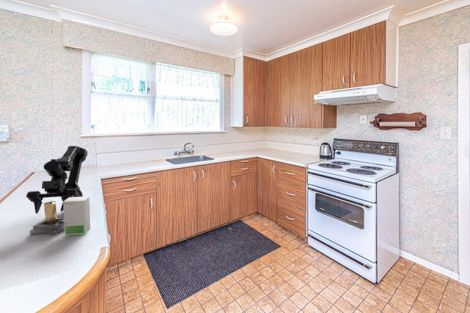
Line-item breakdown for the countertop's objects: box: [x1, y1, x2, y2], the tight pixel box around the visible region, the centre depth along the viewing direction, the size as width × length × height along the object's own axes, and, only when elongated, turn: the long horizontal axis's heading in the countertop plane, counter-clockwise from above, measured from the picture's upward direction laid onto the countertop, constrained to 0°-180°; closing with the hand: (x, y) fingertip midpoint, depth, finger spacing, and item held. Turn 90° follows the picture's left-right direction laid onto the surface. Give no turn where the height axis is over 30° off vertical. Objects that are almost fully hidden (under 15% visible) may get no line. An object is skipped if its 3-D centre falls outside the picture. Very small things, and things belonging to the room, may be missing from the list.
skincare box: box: [62, 196, 91, 237], centre depth 99 cm, size 8×7×16 cm
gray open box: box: [29, 217, 65, 236], centre depth 101 cm, size 12×9×5 cm
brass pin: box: [43, 200, 58, 225], centre depth 100 cm, size 4×4×13 cm
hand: (49, 212), depth 99 cm, fingers open, 9 cm apart
